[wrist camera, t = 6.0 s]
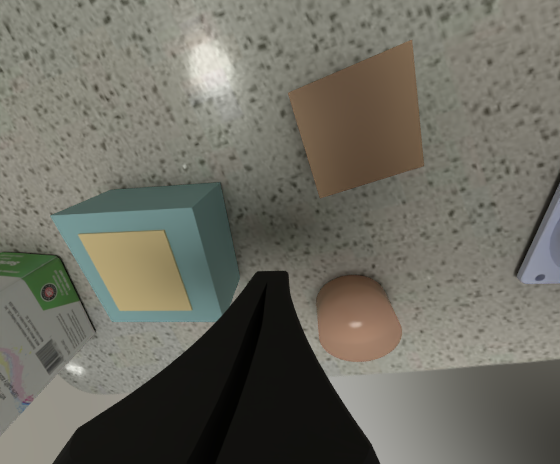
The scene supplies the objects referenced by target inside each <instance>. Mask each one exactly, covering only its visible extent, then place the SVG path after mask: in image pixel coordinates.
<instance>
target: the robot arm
mask: <svg viewBox="0 0 560 464" xmlns="http://www.w3.org/2000/svg"><path fill="white" fill-rule="evenodd" d="M517 278H518V280H520V281H521V282H522V283H525V284H549V283H560V184H559V186H558V188H557V190H556V192H555V194H554V197H553V199H552V201H551V203H550V205H549V207H548V209H547V212H546V214H545V216H544V218H543V220H542V222H541V225H540V227H539V229H538V231H537V233H536V235H535V237H534V240H533V242H532V244H531V246H530V248H529V250H528V253H527V255H526V257H525V259H524V261H523V263H522V265H521V268H520V270H519V272H518V274H517ZM53 464H380V462H379V460H378V458H377V456H376V454H375V451H374V449H373V447H372V444H371V443H370V441H369V440H368V438H367V437H366V435H365V434H364V433H363V431H362V430H361V429H360V427H359V426H358V424H357V423H356V421H355V420H354V418H353V417H352V416H351V414H350V412H349V411H348V409H347V408H346V406H345V405H344V403H343V402H342V400H341V399H340V397H339V395H338V394H337V392H336V391H335V389H334V388H333V386H332V384H331V383H330V381H329V379H328V377H327V376H326V374H325V372H324V370H323V369H322V367H321V365H320V364H319V362H318V360H317V358H316V356H315V354H314V352H313V350H312V348H311V346H310V344H309V342H308V340H307V338H306V336H305V334H304V331H303V329H302V327H301V324H300V322H299V319H298V317H297V314H296V311H295V308H294V305H293V302H292V299H291V295H290V287H289V276H288V272H286V271H257V272H256V273H255V275H254V276H253V277H252V279H251V280H250V281H249V283H248V284H247V286H246V287H245V288H244V289H243V291H242V292H241V293H240V295H239V296H238V297H237V298H236V300H235V301H234V302H233V303H232V304H231V306H230V307H229V308H228V309H227V310H226V311H225V313H224V314H223V315H222V316H221V317H220V318H219V319H218V320H217V321H216V323H215V324H214V325H213V326H212V327H211V328H210V329H209V330H208V331H207V332H206V333H205V334H204V335H203V336H202V337H201V338H200V339H198V340H197V341H196V342H195V343H194V344H193V345H192V346H191V347H190V348H189V349H187V350H186V351H185V352H184V353H183V354H182V355H180V356H179V357H178V358H177V359H176V360H174V361H173V362H172V363H171V364H170V365H168V366H167V367H166V368H165V369H163V370H162V371H161V372H160V373H158V374H157V375H156V376H154V377H153V378H152V379H150V380H149V381H148V382H146V383H145V384H143V385H142V386H141V387H139V388H138V389H136V390H135V391H134V392H132V393H131V394H129V395H128V396H127V397H125V398H124V399H122V400H121V401H119V402H118V403H116V404H114V405H113V406H112V407H110V408H108V409H107V410H105V411H104V412H102V413H101V414H99V415H98V416H96V417H95V418H93V419H92V420H90V421H88V422H87V423H85V424H84V425H82V426H80V427H79V428H78V429H77V430H76V431H75V433H74V434H73V436H72V437H71V438H70V440H69V441H68V442H67V444H66V445H65V447H64V448H63V449H62V451H61V452H60V454H59V455H58V456H57V458H56V459H55V461H54V462H53Z"/></svg>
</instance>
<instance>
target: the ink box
mask: <svg viewBox="0 0 560 464" xmlns="http://www.w3.org/2000/svg"><path fill="white" fill-rule="evenodd" d="M94 334H95V331H94V329H93V327H92V325H91V323H90V321H89V319H88V316H87V314H86V312H85V310H84V308H83V306H82V304H81V302H80V300H79V298H78V296H77V294H76V292H75V290H74V287H73V285H72V283H71V281H70V279H69V277H68V275H67V273H66V271H65V269H64V266H63V264H62V262H61V260H60V259H59V258H58V257H57V256H54V255H38V254H25V253H6V252H2V253H0V436H1V435H2V434H3V433H4V431H6V429H7V428H8V427H9V426H10V425H11V424H12V423H13V422H14V421H15V420H16V419H17V417H18V416H19V415H20V414H21V413H22V412H23V411H24V410H25V409H26V407H28V405H29V404H30V403H31V402H32V401H33V400H34V399H35V398H36V397H37V396H38V395H39V394H40V393H41V391H42V390H43V389H44V388H45V387H46V386H47V385H48V384H49V383H50V381H51V380H52V379H53V378H54V377H55V376H56V375H57V374H58V373H59V372H60V371H61V370H62V368H63V367H64V366H65V365H66V364H67V363H68V362H69V361H70V360H71V359H72V358H73V357H74V356H75V355H76V354H77V352H78V351H79V350H80V349H81V348H82V347H83V346H84V345H85V344H86V343H87V341H88V340H89V339H90V338H91V337H92V336H93V335H94Z"/></svg>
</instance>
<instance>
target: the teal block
mask: <svg viewBox="0 0 560 464" xmlns="http://www.w3.org/2000/svg"><path fill="white" fill-rule="evenodd" d="M50 216H51V218H52V220H53V221H54V223H55V225H56V227H57V228H58V230H59V232H60V233H61V235H62V237H63V239H64V240H65V242H66V244H67V245H68V247H69V249H70V251H71V252H72V254H73V256H74V257H75V259H76V261H77V263H78V264H79V266H80V268H81V269H82V271H83V273H84V275H85V276H86V278H87V280H88V281H89V283H90V285H91V287H92V288H93V290H94V292H95V293H96V295H97V297H98V298H99V300H100V302H101V304H102V305H103V307H104V309H105V310H106V312H107V314H108V316H109V317H110V319H111V321H112V322H216V321H217V320H218V319H219V318H220V317H221V316H222V315H223V314H224V313H225V311H226V310H227V309H228V308H229V306H230V304H231V301H232V298H233V295H234V293H235V290H236V287H237V285H238V282H239V279H240V275H239V270H238V265H237V261H236V256H235V251H234V246H233V242H232V237H231V232H230V227H229V222H228V218H227V213H226V208H225V203H224V198H223V194H222V189H221V184H220V182H217V183H203V184H188V185H173V186H159V187H144V188H129V189H115V190H109V191H107V192H105V193H102V194H100V195H98V196H95V197H93V198H91V199H88V200H86V201H83V202H81V203H79V204H76V205H74V206H72V207H69V208H67V209H65V210H62V211H60V212H57V213H55V214H53V215H50Z"/></svg>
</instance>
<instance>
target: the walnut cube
mask: <svg viewBox="0 0 560 464" xmlns="http://www.w3.org/2000/svg"><path fill="white" fill-rule="evenodd" d="M288 95H289V98H290V102H291V105H292V108H293V112H294V115H295V118H296V121H297V125H298V128H299V131H300V135H301V138H302V141H303V144H304V148H305V151H306V154H307V158H308V161H309V164H310V167H311V171H312V174H313V177H314V181H315V184H316V187H317V191H318V194H319V197H320V198H323V197H326V196H329V195H333V194H336V193H339V192H342V191H345V190H349V189H352V188H355V187H358V186H361V185H365V184H368V183H371V182H374V181H377V180H381V179H384V178H387V177H390V176H393V175H397V174H400V173H403V172H406V171H409V170H413V169H416V168H419V167H422V166H424V160H423V150H422V139H421V129H420V118H419V108H418V97H417V87H416V76H415V66H414V55H413V45H412V40H410V41H408V42H405V43H403V44H401V45H398V46H396V47H394V48H391V49H389V50H387V51H384V52H382V53H380V54H377V55H375V56H373V57H370V58H368V59H366V60H363V61H361V62H359V63H356V64H354V65H352V66H350V67H347V68H345V69H343V70H340V71H338V72H336V73H333V74H331V75H329V76H326V77H324V78H322V79H319V80H317V81H315V82H312V83H310V84H308V85H305V86H303V87H301V88H298V89H296V90H294V91H291V92H289V93H288Z"/></svg>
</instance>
